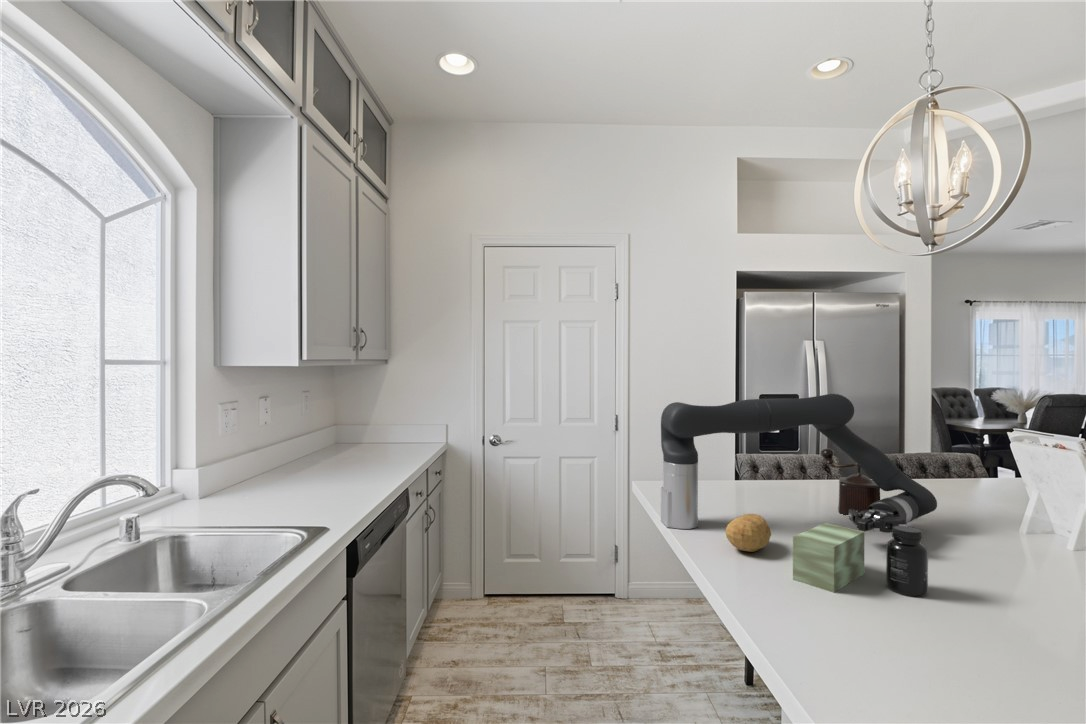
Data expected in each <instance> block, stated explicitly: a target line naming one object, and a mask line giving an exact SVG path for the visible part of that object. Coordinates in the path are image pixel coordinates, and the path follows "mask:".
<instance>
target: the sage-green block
mask: <svg viewBox="0 0 1086 724" xmlns="http://www.w3.org/2000/svg"><path fill="white" fill-rule="evenodd" d="M865 533H866V532H864V531H860V530H858V529H854V528H849V527H846V526H841V525H836V524H833V523H832V524H831V523H828V522H824V523H822V524H819V525H817V526H814V527H812V528H810V529H808V530H805V531H804V532H801V533H798V534H796V535H794V536H792V580H793V581H796V582H798V583H802V584H805V585H809V586H811V587H815V588H818V589H821V590H824V591H828V592H830V593H836V592H837V591H839V590H840V589H842V588H844V587H845V586H847V585H848V583H849V584H850V583H852V582H853V581H855V580H857V579H858V578H860V577H861V576H863V575H864V574H865ZM856 578H857V579H856ZM851 581H852V582H851Z"/></svg>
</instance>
